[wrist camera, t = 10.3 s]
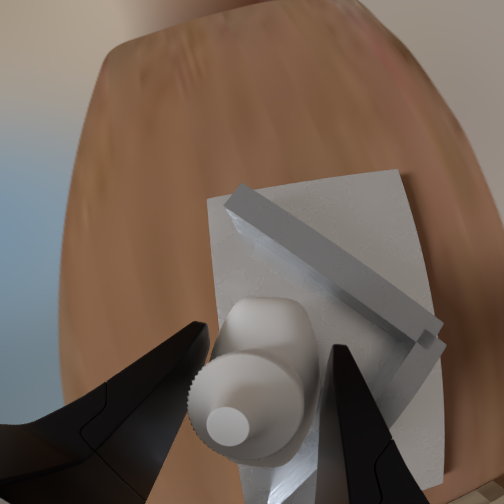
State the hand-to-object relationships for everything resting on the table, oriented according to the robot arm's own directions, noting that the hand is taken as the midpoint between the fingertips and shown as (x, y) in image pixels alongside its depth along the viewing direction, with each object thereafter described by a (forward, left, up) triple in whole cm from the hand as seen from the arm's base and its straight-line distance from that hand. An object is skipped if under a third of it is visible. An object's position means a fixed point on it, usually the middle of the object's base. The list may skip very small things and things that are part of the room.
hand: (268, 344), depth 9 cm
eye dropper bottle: (-1, 0, -8) cm, 8 cm away
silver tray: (0, -3, -9) cm, 9 cm away
